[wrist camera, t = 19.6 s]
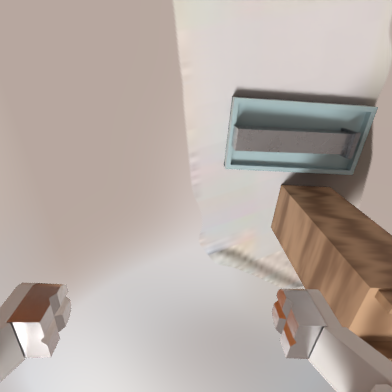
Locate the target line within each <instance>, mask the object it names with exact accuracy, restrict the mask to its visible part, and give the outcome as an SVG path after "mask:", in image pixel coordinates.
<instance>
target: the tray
mask: <svg viewBox="0 0 392 392" xmlns="http://www.w3.org/2000/svg"><path fill="white" fill-rule="evenodd" d="M377 109H378V107H373V106H364V105H350V104H335V103H321V102H306V101H292V100H277V99H262V98H248V97H233V96H232V104H231V112H230V120H229V128H228V136H227V144H226V153H225V161H224V166H225V169H239V170H260V171H280V172H301V173H321V174H342V175H353V173H354V170H355V167H356V165H357V162H358V159H359V157H360V154H361V151H362V149H363V146H364V143H365V141H366V138H367V135H368V133H369V130H370V127H371V125H372V122H373V119H374V117H375V114H376V111H377ZM234 125H241V126H262V127H283V128H304V129H325V130H341V128H347V129H351V130H354V131H357V132H360V133H361V135H360V138H359V140H358V143H357V146H356V149H355V152H354V154H353V157H352V159H346V158H344V157H342V156H340V155H338V154H312V153H283V152H254V151H235V150H234V149H233V147H232V146H231V143H232V135H233V128H234Z"/></svg>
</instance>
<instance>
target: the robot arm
mask: <svg viewBox="0 0 392 392" xmlns="http://www.w3.org/2000/svg"><path fill="white" fill-rule="evenodd" d="M67 292H68V289H67V286H66V285H64V284H47V283H21V284H19V285H18V286H17V287H16V288H15V289H14V291H13V292H12V293H11V295H10V296H9V297H8V298H7V300H6V301H5V302H4V303H3V305H2V306H1V307H0V382H2V381H3V379H5V378H6V377H7V376H8V375H9V374H10V373H11V372H12V371H13V370H14V369H15V368H16V367H18V366H19V365H20V364H21V363H22V362H23V361H24V360H25V358H42V357H51V356H52V354H53V352H54V350H55V348H56V346H57V344H58V341H59V339H60V337H59V333H58V332H59V331H61V330H62V329H63V328H64V327H65V326H66V324H67V322H68V320H69V316H70V312H71V302H70V299H69V298H67V297H66V294H67ZM277 298H278V301H277V302H275V303H274V305H273V309H272V316H273V322H274V326H275V328H276V330H277V331H278V332H279V333H280V334H282V335H281V338H280V343H281V346H282V348H283V351H284V354H285V357H286V358H299V359H309V361H310V362H311V364H312V365H313V366H314V367H315V368H316V369H317V370H318V371H319V373H320V374H321V375H322V376H323V377H324V378H325V379H326V380H327V381H328V383H329V384H330V385H331V386H332V387H333V388H334V389H335V391H336V392H392V361H390V360H389V359H388V358H386V357H385V356H384V355H382V354H381V353H380V352H378V351H377V350H376V349H374V348H373V347H372V346H370V345H369V344H368V343H366V342H365V341H364V340H362V339H361V338H360V337H358V336H357V335H356V334H354V333H353V332H352V331H351V330H349V329H348V328H347V327H342V326H341V324H340V323H339V321H338V319H337V318H336V316H335V315H334V313H333V311H332V310H331V308H330V306H329V305H328V303H327V302H326V300H325V298H324V297H323V295H322V294H321V292H320V291H319V290H318V289H279V290H278V292H277Z"/></svg>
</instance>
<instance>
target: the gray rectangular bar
mask: <svg viewBox="0 0 392 392" xmlns="http://www.w3.org/2000/svg"><path fill="white" fill-rule="evenodd" d="M360 135H361V133H360V132H357V131H354V130H351V129H347V128H341V130H325V129H304V128H283V127H262V126H241V125H234V128H233V135H232V143H231V146H232V147H233V149H234V150H235V151H254V152H283V153H312V154H338V155H340V156H342V157H344V158H346V159H352V157H353V154H354V152H355V149H356V146H357V143H358V140H359V138H360Z"/></svg>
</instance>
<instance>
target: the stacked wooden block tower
mask: <svg viewBox="0 0 392 392" xmlns="http://www.w3.org/2000/svg"><path fill="white" fill-rule="evenodd" d="M271 228H272V230H273V232H274V234H275V235H276V237H277V239H278V241H279V242H280V244H281V246H282V248H283V250H284V251H285V253H286V255H287V257H288V259H289V260H290V262H291V264H292V266H293V267H294V269H295V271H296V273H297V275H298V276H299V278H300V280H301V282H302V284H303V285H304V287H305V289H318V290H319V291H320V292H321V294H322V295H323V297H324V298H325V300H326V302H327V303H328V305H329V306H330V308H331V310H332V311H333V313H334V315H335V316H336V318H337V319H338V321H339V323H340V324H341V326H342V327H347V328H348V329H349V330H351V331H352V332H353V333H354V334H356V335H357V336H358V337H360V338H361V339H362V340H364V341H365V342H366V343H368V344H369V345H370V346H372V347H373V348H374V349H376V350H377V351H378V352H380V353H381V354H382V355H384V356H385V357H386V358H388V359H389V360H390V361H392V235H390V234H389V233H388V232H387V231H385V230H384V229H383V228H381V227H380V226H379V225H378V224H376V223H375V222H374V221H373V220H371V219H370V218H369V217H368V216H366V215H365V214H364V213H362V212H361V211H360V210H359V209H357V208H356V207H355V206H354V205H352V204H351V203H350V202H348V201H347V200H346V199H345V198H343V197H342V196H341V195H340V194H338V193H337V192H336V191H334V190H333V189H332V188H331V187H318V186H295V185H281V188H280V192H279V196H278V201H277V205H276V209H275V213H274V217H273V221H272V225H271Z"/></svg>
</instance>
